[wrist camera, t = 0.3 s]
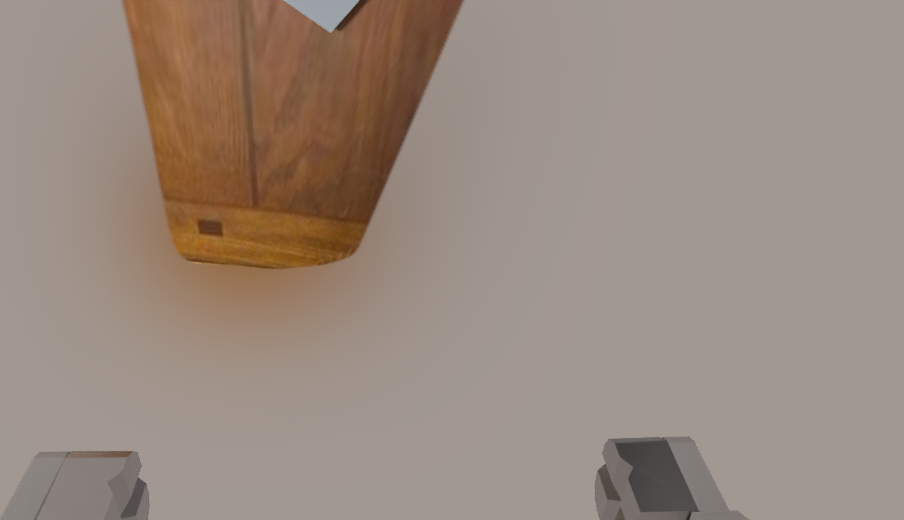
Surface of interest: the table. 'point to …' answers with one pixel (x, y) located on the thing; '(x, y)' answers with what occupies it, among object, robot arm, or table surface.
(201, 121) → the table surface
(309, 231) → the table surface
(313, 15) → the grey pad
